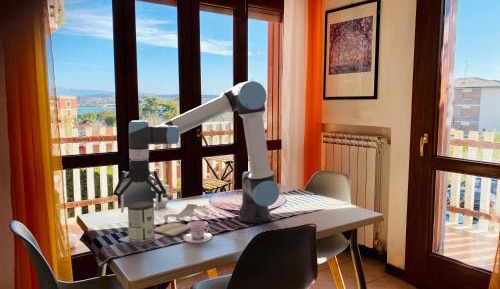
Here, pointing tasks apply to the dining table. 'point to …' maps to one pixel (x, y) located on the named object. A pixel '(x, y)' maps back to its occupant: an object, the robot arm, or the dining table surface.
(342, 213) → the dining table surface
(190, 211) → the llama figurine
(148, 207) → the coffee can
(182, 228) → the walnut board
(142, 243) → the tile
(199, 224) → the teacup
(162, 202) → the figurine
